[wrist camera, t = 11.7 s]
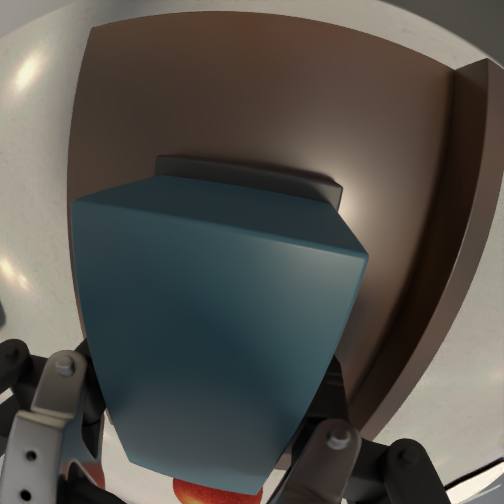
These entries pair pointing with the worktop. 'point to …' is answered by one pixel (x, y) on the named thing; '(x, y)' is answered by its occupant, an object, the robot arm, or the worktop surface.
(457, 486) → the plate
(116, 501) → the robot arm
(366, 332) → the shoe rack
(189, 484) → the apple
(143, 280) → the teal eraser block
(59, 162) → the worktop surface
